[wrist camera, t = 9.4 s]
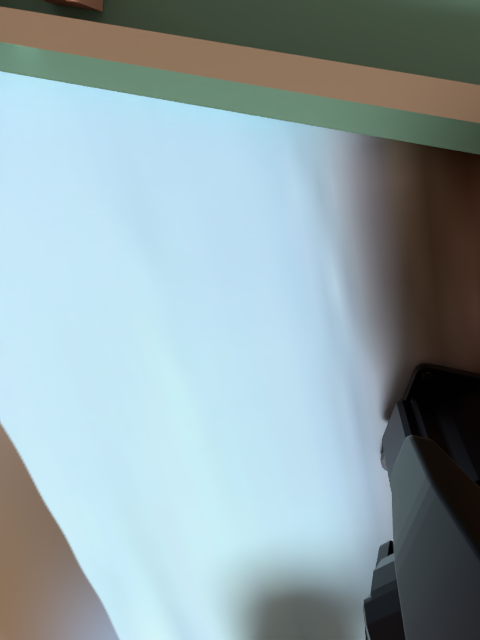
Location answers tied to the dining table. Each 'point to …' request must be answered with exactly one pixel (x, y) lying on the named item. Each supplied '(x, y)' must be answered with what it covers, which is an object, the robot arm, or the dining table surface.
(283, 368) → the dining table surface
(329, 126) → the pitch
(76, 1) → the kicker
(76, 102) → the dining table surface
